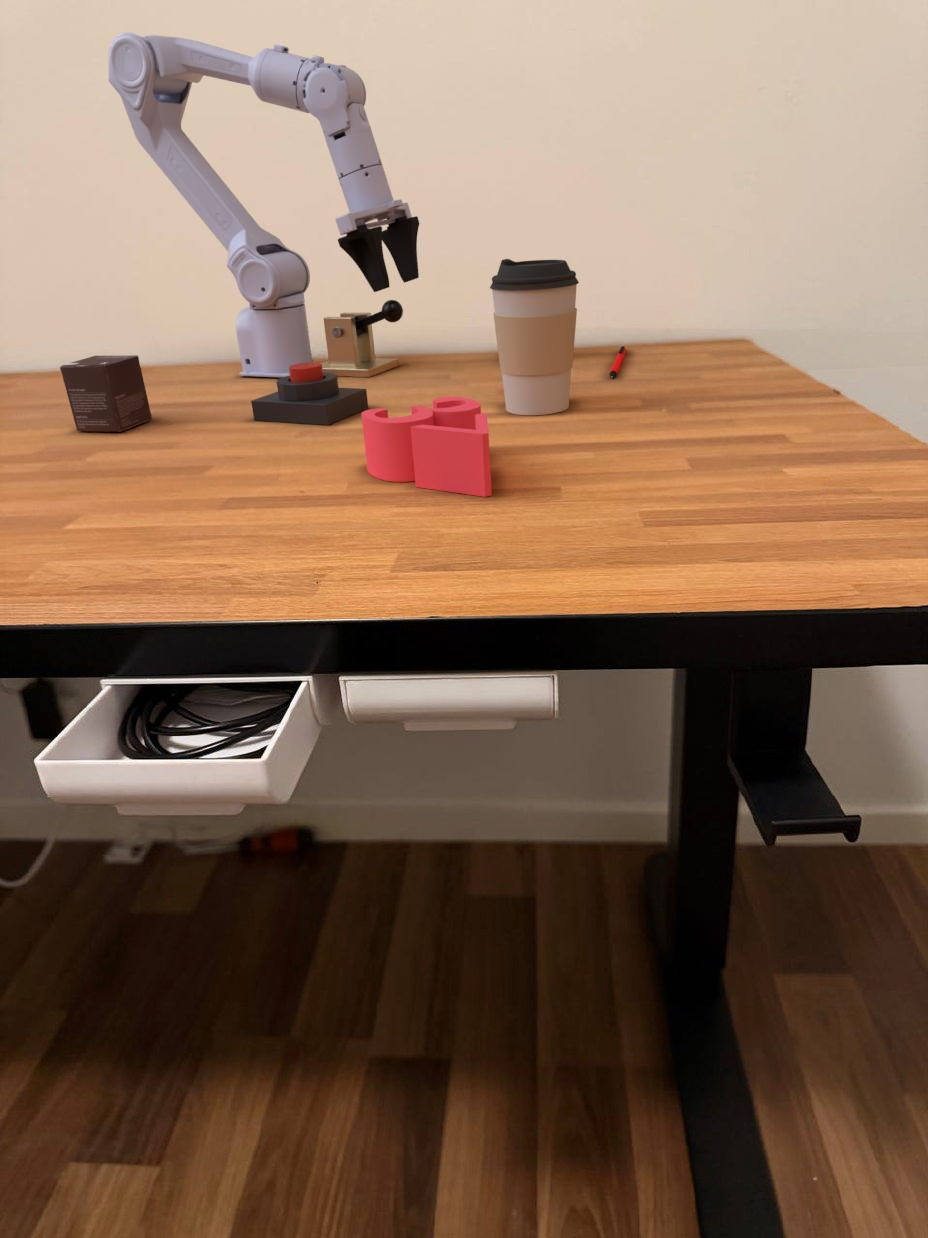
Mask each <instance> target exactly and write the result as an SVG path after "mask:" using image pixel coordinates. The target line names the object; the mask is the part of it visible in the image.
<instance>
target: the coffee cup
mask: <svg viewBox="0 0 928 1238" xmlns="http://www.w3.org/2000/svg"><path fill="white" fill-rule="evenodd" d="M578 284H580V281H579V280H578V278H577V273H576V271H574V270H571V269H570V267H569V264H568V262H567V260H565V259H535V260H522V261H520V260H519V261H514V260H512V259H510V258H505V259H502V260H501V261H500V263H499V267H498V271H497V274H496V275H493V276H492V277H491V285H490V286H489V289H490V290H491V292H492V301H493V308H494V312H493V321H494V329H495V337H496V344H497V345H496V346H497V352H498V360H499V361H498V362H499V370H500V372H501V377H502V386H503V393H504V395H503V396H504V403H505V411H506V412H507V413H510V414H513V415H517V416H544V415H552V414H557V413H560V412H564V411H566V410H567V409H569V407H570V392H571V376H572V369H573V366H574V354H575V353H574V352H575V341H576V340H575V339H576V329H577V328H576V325H577V313H578V308H577V307H576V303H577V302H576V300H577V287H578V286H577V285H578Z"/></svg>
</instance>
